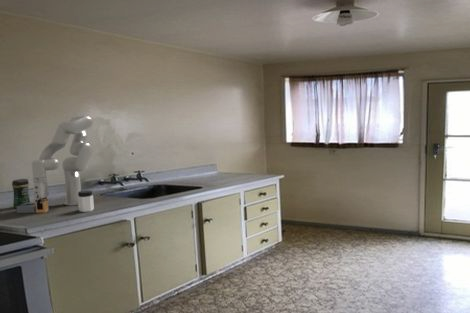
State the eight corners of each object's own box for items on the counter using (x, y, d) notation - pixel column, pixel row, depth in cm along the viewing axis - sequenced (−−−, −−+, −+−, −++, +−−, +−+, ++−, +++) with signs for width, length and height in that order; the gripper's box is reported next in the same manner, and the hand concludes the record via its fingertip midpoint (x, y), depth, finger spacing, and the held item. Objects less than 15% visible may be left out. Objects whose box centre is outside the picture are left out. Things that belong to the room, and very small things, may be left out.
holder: (43, 208, 254) (42, 202, 254) (34, 212, 243) (34, 206, 243) (26, 208, 254) (25, 202, 254) (16, 212, 243) (16, 206, 243)
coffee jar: (19, 209, 254) (17, 180, 252) (11, 208, 257) (9, 180, 255) (33, 205, 262) (30, 178, 260) (24, 204, 266) (22, 177, 264)
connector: (48, 210, 247) (47, 198, 247) (45, 212, 243) (44, 199, 242) (39, 210, 248) (38, 198, 247) (36, 212, 243) (35, 199, 242)
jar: (83, 208, 250) (82, 190, 249) (95, 208, 250) (94, 190, 248) (76, 212, 241) (75, 193, 240) (89, 212, 241) (88, 192, 239)
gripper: (38, 181, 235) (41, 211, 237) (52, 177, 251) (54, 205, 253) (26, 182, 235) (29, 212, 237) (40, 177, 251) (42, 205, 253)
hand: (42, 208), depth 245 cm, fingers closed on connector, 4 cm apart
